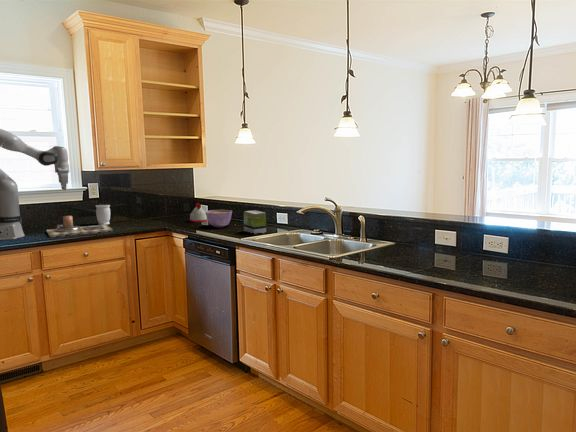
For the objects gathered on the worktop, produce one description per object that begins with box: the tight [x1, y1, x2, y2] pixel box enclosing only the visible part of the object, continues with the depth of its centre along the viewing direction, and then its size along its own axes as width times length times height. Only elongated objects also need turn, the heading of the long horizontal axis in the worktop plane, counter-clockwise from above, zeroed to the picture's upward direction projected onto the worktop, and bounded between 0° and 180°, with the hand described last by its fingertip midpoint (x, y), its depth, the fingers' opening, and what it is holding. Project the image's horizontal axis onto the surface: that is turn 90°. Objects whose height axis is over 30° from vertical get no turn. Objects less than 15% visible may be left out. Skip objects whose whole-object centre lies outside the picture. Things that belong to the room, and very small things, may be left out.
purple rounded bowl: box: [205, 209, 233, 228], centre depth 333 cm, size 20×20×12 cm
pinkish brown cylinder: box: [60, 215, 74, 228], centre depth 308 cm, size 8×6×8 cm
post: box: [56, 223, 81, 232], centre depth 310 cm, size 15×15×4 cm
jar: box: [95, 204, 111, 226], centre depth 344 cm, size 11×10×15 cm
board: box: [46, 224, 114, 238], centre depth 313 cm, size 40×24×2 cm, turn 123°
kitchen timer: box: [189, 202, 208, 223], centre depth 359 cm, size 14×14×15 cm
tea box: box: [243, 209, 267, 235], centre depth 309 cm, size 15×10×15 cm
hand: (64, 189), depth 306 cm, fingers open, 8 cm apart
